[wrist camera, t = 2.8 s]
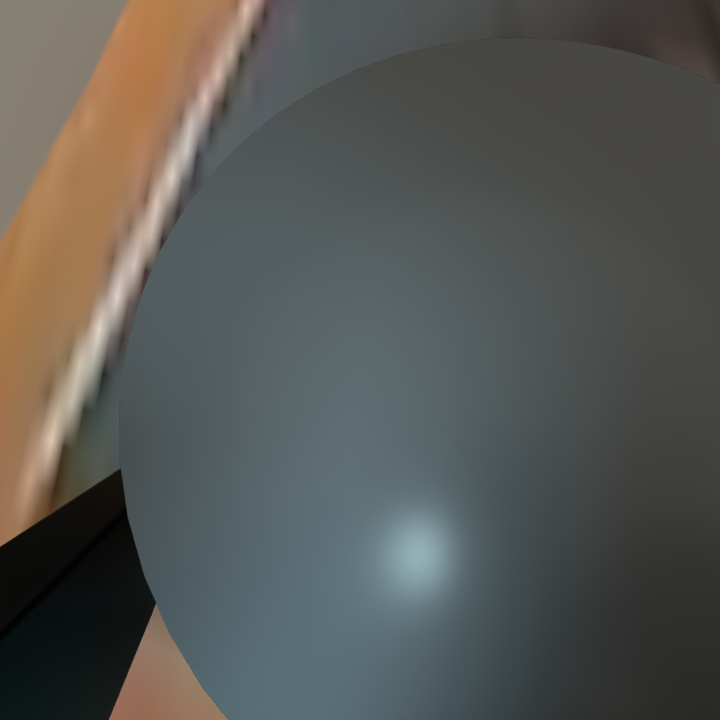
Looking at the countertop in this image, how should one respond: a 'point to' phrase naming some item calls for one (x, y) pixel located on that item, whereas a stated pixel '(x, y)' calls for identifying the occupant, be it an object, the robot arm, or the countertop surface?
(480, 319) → the grey faceted cylinder
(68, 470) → the countertop surface
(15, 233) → the countertop surface
